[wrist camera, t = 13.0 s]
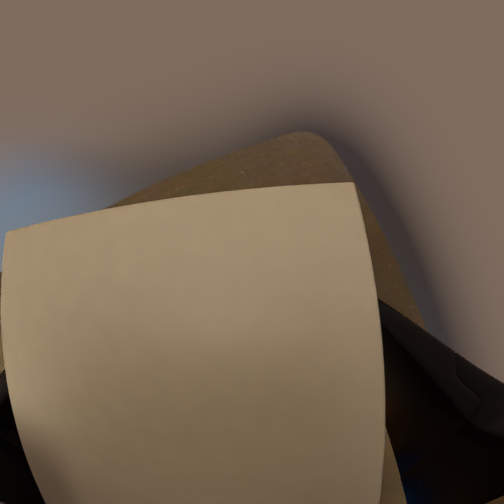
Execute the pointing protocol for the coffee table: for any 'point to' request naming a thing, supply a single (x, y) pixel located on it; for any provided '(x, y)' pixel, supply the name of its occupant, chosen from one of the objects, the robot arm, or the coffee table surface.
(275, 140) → the coffee table surface
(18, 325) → the white box
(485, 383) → the robot arm
